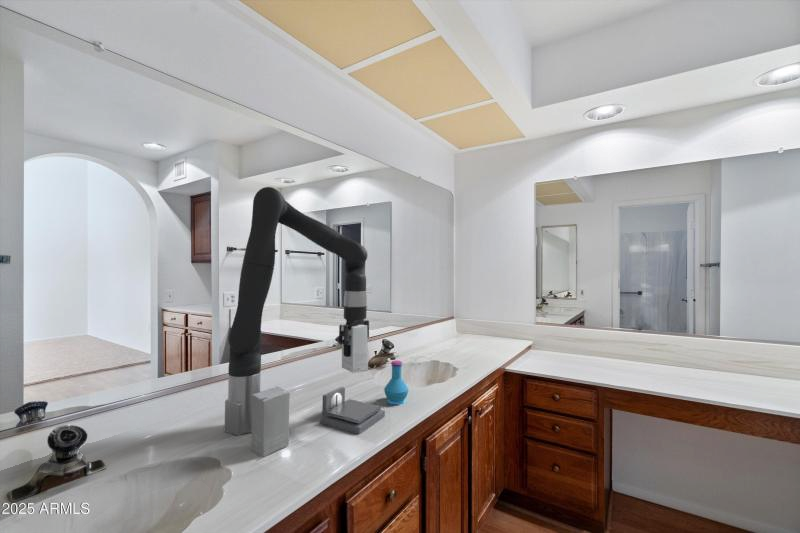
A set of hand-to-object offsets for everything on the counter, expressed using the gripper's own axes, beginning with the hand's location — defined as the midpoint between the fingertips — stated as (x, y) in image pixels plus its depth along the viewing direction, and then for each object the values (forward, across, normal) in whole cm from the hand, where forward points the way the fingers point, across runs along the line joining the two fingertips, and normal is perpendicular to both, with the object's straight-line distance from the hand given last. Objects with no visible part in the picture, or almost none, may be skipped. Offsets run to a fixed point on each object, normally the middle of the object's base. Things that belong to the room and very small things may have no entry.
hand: (354, 353), depth 120 cm
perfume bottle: (+22, -22, +4) cm, 31 cm away
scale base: (+22, 0, 0) cm, 22 cm away
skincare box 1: (+22, +27, -9) cm, 36 cm away
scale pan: (+20, 0, 0) cm, 20 cm away
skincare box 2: (+5, 0, 0) cm, 5 cm away
